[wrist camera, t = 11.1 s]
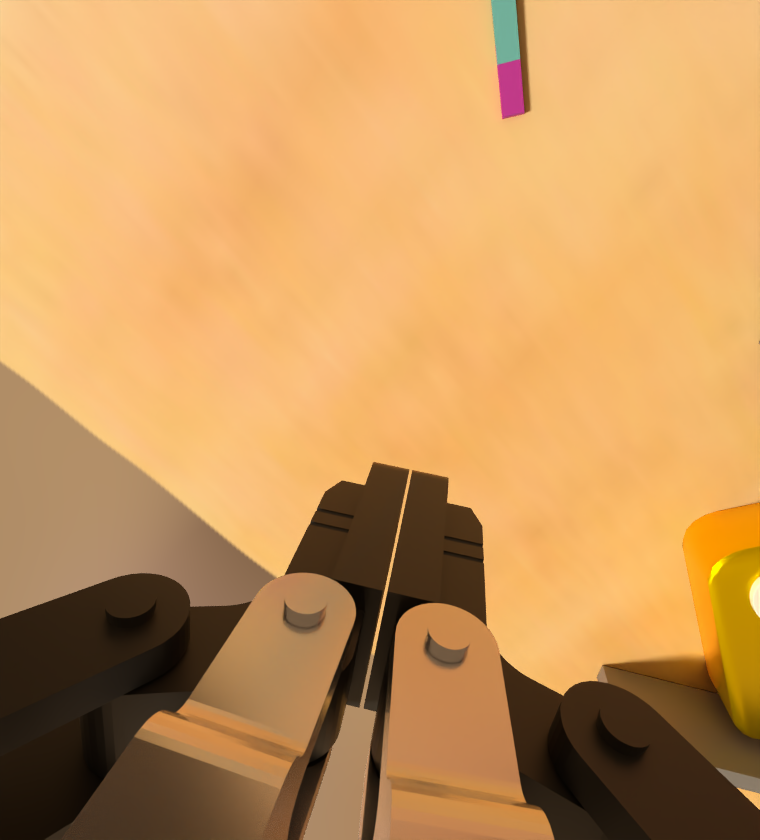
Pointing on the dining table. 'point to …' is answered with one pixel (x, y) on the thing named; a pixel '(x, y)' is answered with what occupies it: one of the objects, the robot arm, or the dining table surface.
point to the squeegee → (508, 57)
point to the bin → (697, 723)
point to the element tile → (729, 606)
